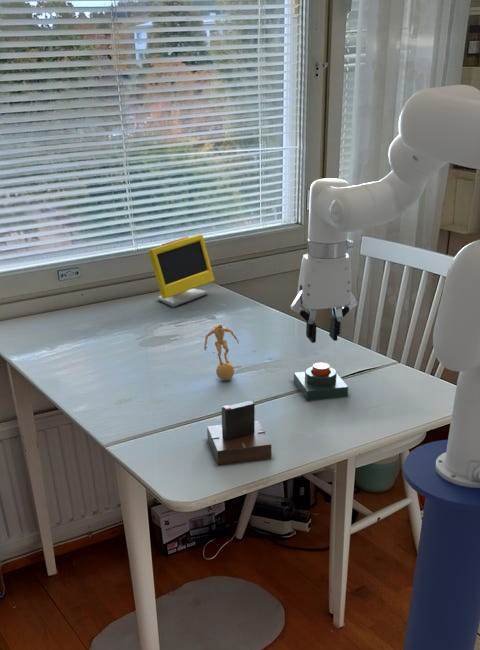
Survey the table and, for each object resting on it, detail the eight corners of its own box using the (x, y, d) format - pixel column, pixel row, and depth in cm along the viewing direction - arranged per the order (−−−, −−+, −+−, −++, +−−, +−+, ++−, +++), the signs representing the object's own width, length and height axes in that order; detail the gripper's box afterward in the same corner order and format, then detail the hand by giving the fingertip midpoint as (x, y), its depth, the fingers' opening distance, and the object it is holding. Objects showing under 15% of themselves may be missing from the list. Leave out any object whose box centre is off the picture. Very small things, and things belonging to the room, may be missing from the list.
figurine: (212, 386, 170) (210, 333, 163) (200, 376, 175) (198, 324, 168) (246, 379, 173) (245, 326, 167) (233, 369, 178) (232, 318, 171)
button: (331, 375, 165) (332, 368, 164) (315, 377, 165) (315, 369, 164) (326, 369, 168) (326, 361, 167) (310, 371, 168) (310, 363, 167)
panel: (271, 459, 144) (272, 443, 142) (217, 465, 142) (217, 450, 140) (258, 434, 152) (258, 419, 150) (206, 440, 150) (206, 425, 148)
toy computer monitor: (166, 310, 211) (162, 250, 202) (146, 304, 215) (141, 245, 206) (215, 292, 224) (213, 234, 215) (195, 286, 228) (192, 230, 219)
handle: (250, 429, 147) (250, 399, 143) (254, 433, 146) (254, 402, 142) (222, 436, 145) (221, 406, 141) (226, 440, 143) (225, 409, 140)
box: (347, 396, 165) (348, 378, 163) (306, 401, 164) (307, 383, 162) (332, 377, 173) (333, 360, 171) (293, 382, 172) (294, 364, 170)
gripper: (361, 240, 156) (354, 329, 167) (280, 246, 153) (278, 337, 164) (374, 250, 150) (367, 342, 161) (290, 257, 147) (288, 350, 158)
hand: (322, 338), depth 162 cm, fingers open, 4 cm apart
